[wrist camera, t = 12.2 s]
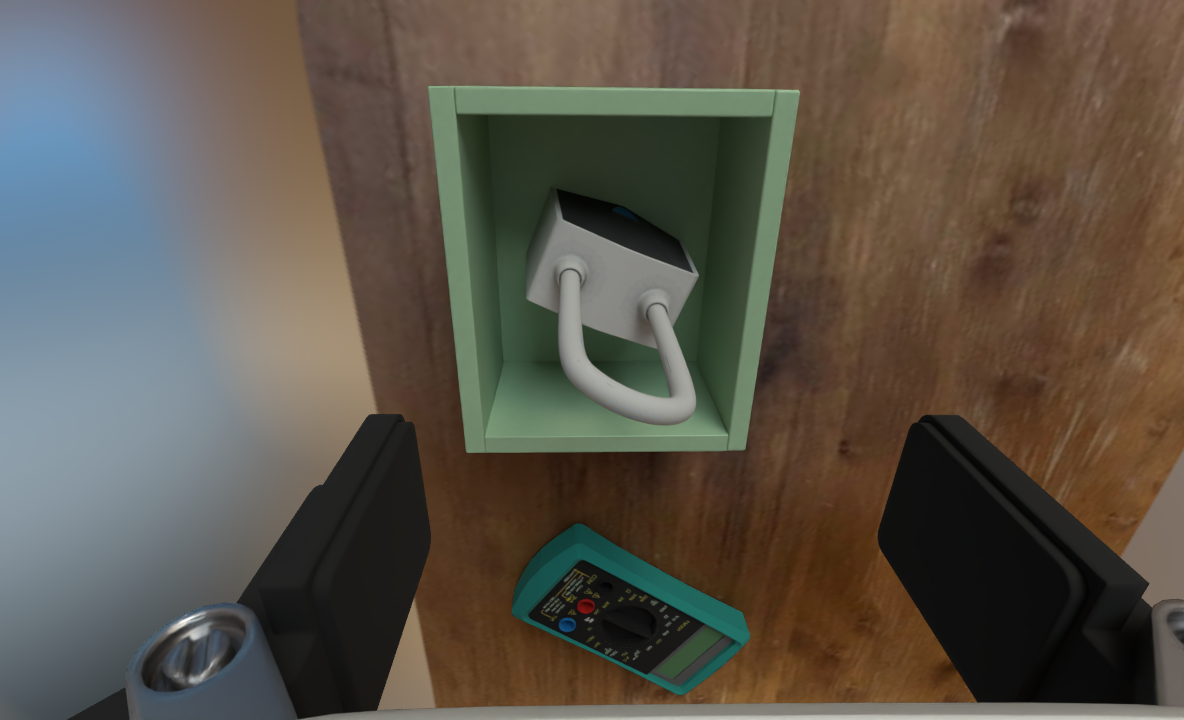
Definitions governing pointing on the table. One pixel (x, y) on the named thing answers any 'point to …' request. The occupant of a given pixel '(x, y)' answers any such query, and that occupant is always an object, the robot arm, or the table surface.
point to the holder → (646, 187)
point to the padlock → (613, 296)
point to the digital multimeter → (627, 611)
